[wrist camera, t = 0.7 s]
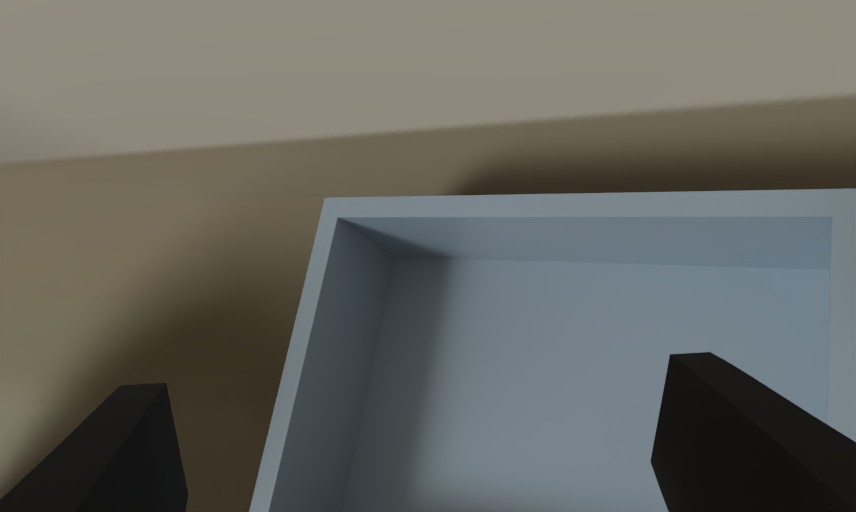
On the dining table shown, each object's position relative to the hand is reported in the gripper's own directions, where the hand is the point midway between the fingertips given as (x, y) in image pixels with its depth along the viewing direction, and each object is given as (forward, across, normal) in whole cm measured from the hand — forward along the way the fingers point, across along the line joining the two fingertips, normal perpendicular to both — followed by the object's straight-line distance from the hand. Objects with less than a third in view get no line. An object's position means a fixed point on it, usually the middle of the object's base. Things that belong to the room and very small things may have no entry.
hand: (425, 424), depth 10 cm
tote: (+11, -6, +10) cm, 16 cm away
